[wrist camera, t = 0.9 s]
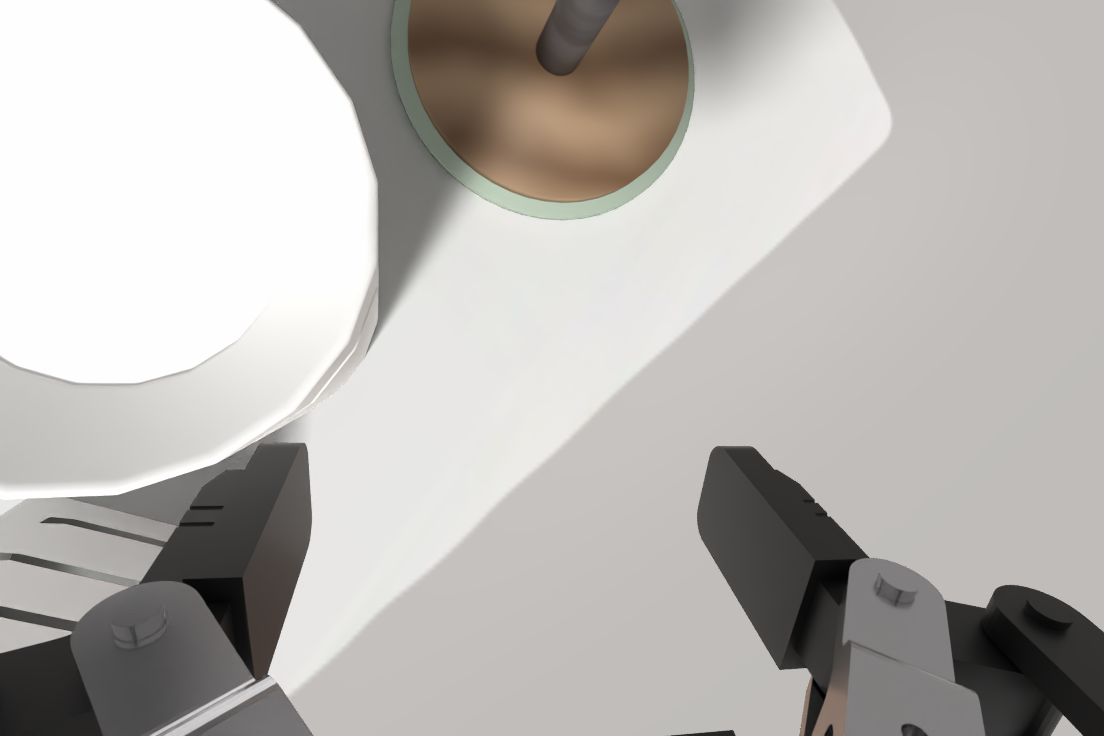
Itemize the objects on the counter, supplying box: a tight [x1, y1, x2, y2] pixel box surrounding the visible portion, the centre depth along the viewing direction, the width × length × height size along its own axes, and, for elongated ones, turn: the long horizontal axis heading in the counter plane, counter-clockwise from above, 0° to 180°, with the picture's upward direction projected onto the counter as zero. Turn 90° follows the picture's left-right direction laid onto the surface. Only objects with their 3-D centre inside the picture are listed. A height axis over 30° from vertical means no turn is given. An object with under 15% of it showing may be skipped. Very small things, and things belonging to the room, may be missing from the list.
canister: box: [0, 0, 379, 499], centre depth 26 cm, size 16×16×20 cm
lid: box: [408, 0, 689, 203], centre depth 36 cm, size 19×19×8 cm
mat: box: [391, 0, 694, 220], centre depth 40 cm, size 21×21×1 cm
